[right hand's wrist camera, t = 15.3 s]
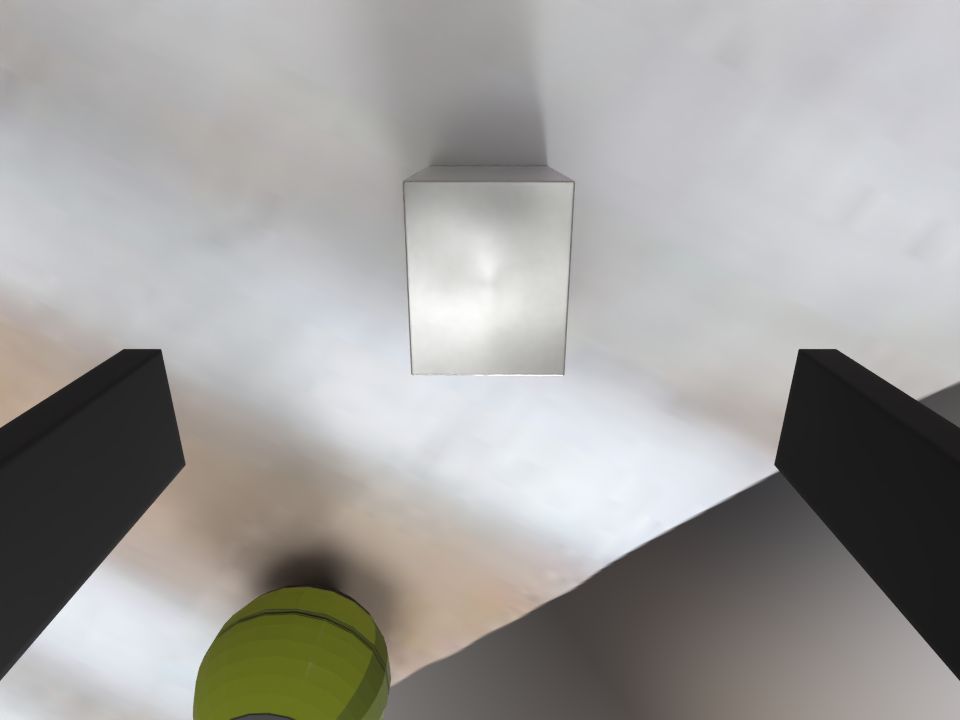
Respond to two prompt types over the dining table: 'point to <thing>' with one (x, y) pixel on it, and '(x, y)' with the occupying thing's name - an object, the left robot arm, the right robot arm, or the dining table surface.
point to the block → (488, 269)
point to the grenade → (295, 661)
